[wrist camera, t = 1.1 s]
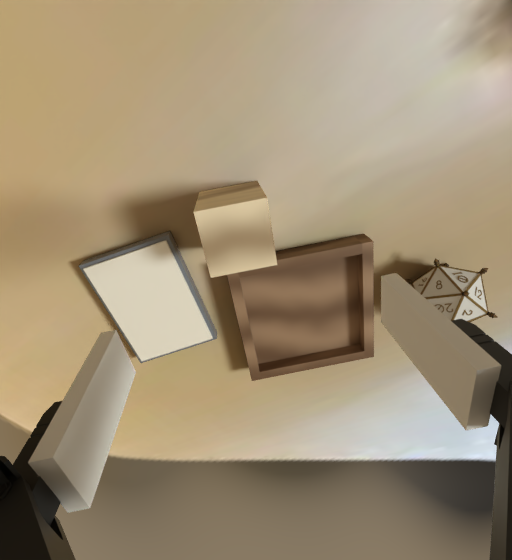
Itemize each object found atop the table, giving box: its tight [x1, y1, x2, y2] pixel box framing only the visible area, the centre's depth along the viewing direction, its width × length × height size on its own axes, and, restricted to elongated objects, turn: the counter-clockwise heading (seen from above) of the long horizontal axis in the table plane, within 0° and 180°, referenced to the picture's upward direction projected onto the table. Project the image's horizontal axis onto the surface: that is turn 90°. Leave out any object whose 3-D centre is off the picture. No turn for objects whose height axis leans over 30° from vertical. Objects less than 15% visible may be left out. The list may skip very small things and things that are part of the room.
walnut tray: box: [227, 234, 374, 381], centre depth 39 cm, size 16×16×2 cm
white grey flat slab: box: [79, 231, 217, 363], centre depth 37 cm, size 14×10×2 cm
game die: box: [405, 259, 497, 322], centre depth 37 cm, size 9×8×10 cm
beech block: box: [194, 181, 277, 278], centre depth 31 cm, size 6×6×8 cm
